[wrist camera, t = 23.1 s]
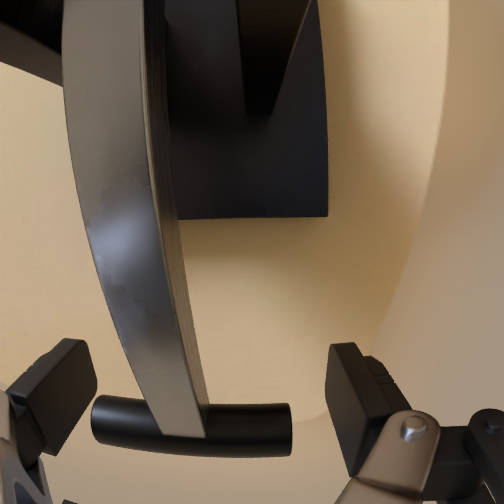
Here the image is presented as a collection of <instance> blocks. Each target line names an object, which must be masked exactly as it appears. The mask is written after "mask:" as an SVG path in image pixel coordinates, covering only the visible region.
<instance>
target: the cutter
mask: <svg viewBox="0 0 504 504" xmlns="http://www.w3.org/2000/svg"><path fill="white" fill-rule="evenodd" d="M62 3H63V0H0V62H3V63H5V64H8V65H10V66H13V67H15V68H18V69H21V70H23V71H26V72H28V73H31V74H33V75H35V76H38V77H40V78H43V79H45V80H47V81H50V82H52V83H55V84H57V85H59V86H62V87H63V77H62V45H61V34H62ZM165 59H166V83H167V102H168V118H169V132H170V144H171V156H172V167H173V177H174V187H175V196H176V205H177V214H178V220H197V219H232V218H290V217H328V135H327V110H326V91H325V76H324V62H323V50H322V39H321V29H320V19H319V11H318V2H317V0H165Z"/></svg>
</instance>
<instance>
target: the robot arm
mask: <svg viewBox="0 0 504 504" xmlns="http://www.w3.org/2000/svg"><path fill="white" fill-rule="evenodd" d="M96 391H97V377H96V374H95V370H94V367H93V363H92V360H91V356H90V352H89V348H88V345H87V343H86V342H85V341H84V340H79V339H70V338H64V339H62V340H61V341H60V342H59V343H58V344H57V345H56V346H55V347H54V348H53V349H52V350H51V351H50V352H48V353H46V354H44V355H42V356H41V357H40V358H38V359H37V360H36V361H35V362H34V363H33V366H32V365H31V366H30V367H29V368H28V369H27V372H24V373H23V374H22V375H21V376H20V377H19V378H18V379H17V380H16V381H15V382H14V383H13V384H12V385H11V386H10V387H9V388H8V389H7V390H6V391H5V392H4V391H1V390H0V504H53V502H52V498H51V495H50V491H49V487H48V483H47V479H46V475H45V471H44V466H43V462H42V460H41V459H40V457H39V456H40V454H41V453H42V452H44V453H47V454H50V455H53V456H57V454H58V453H59V451H60V449H61V448H62V446H63V444H64V443H65V441H66V440H67V438H68V437H69V435H70V433H71V431H72V430H73V429H74V427H75V425H76V424H77V422H78V421H79V419H80V418H81V416H82V414H83V413H84V411H85V410H86V408H87V407H88V405H89V404H90V402H91V401H92V399H93V398H94V396H95V394H96ZM325 398H326V403H327V406H328V409H329V412H330V415H331V419H332V422H333V425H334V428H335V431H336V435H337V438H338V441H339V444H340V447H341V451H342V454H343V457H344V460H345V464H346V467H347V470H348V474H349V477H352V478H351V480H350V481H349V482H348V483H347V485H346V487H345V488H344V490H343V491H342V493H341V494H340V496H339V497H338V499H337V500H336V501H335V503H334V504H422V503H423V501H436V502H437V504H504V412H503V411H501V410H497V409H482V410H480V411H478V412H476V413H475V414H474V415H473V416H472V417H471V419H470V422H469V424H468V426H450V427H442V426H440V425H439V423H438V422H437V420H436V419H435V418H433V417H432V416H431V415H429V414H427V413H424V412H421V411H416V410H413V409H412V408H411V406H410V405H409V403H408V402H407V400H406V399H405V397H404V395H403V394H402V392H401V391H400V389H399V388H398V386H397V385H396V383H394V380H393V379H392V377H391V375H389V372H388V371H387V370H386V368H385V367H384V365H383V364H382V363H381V362H379V361H378V360H377V359H375V358H374V357H371V356H363V355H362V353H361V352H360V350H359V348H358V347H357V345H356V344H355V343H354V342H349V343H336V344H331V345H330V347H329V353H328V363H327V372H326V381H325ZM355 476H356V477H355ZM485 483H486V484H487V486H488V488H489V490H490V492H491V494H492V495H493V497H494V499H495V501H494V500H493V498H492V496H491V494H490V492H489V490H488V488H487V487H486V485H485ZM495 502H496V503H495ZM62 504H77V503H73V502H71V501H68V500H64V501H63V503H62Z"/></svg>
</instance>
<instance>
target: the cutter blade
mask: <svg viewBox="0 0 504 504" xmlns="http://www.w3.org/2000/svg"><path fill="white" fill-rule="evenodd" d="M61 45H62V77H63V93H64V105H65V115H66V124H67V132H68V140H69V147H70V154H71V160H72V166H73V172H74V178H75V183H76V188H77V193H78V198H79V203H80V208H81V212H82V217H83V221H84V225H85V229H86V233H87V237H88V241H89V245H90V249H91V253H92V256H93V260H94V263H95V267H96V270H97V274H98V277H99V280H100V284H101V287H102V290H103V293H104V296H105V299H106V302H107V305H108V308H109V311H110V314H111V317H112V320H113V323H114V325H115V328H116V331H117V334H118V336H119V339H120V342H121V344H122V347H123V349H124V352H125V354H126V357H127V359H128V362H129V364H130V367H131V369H132V371H133V374H134V376H135V378H136V381H137V383H138V385H139V387H140V390H141V392H142V394H143V396H144V398H145V400H143V399H134V398H126V397H118V396H110V395H100V396H99V397H97V398H96V400H95V402H94V404H93V407H92V411H91V428H92V432H93V435H94V437H95V439H96V440H97V441H98V442H99V443H101V444H106V445H111V446H116V447H123V448H128V449H134V450H142V451H148V452H156V453H165V454H174V455H187V456H201V457H226V458H259V457H284V456H290V454H291V451H292V417H291V410H290V406H289V404H288V403H273V404H209V399H208V395H207V390H206V385H205V380H204V375H203V371H202V366H201V360H200V355H199V350H198V345H197V339H196V334H195V328H194V323H193V317H192V311H191V305H190V299H189V293H188V286H187V280H186V273H185V267H184V260H183V252H182V245H181V238H180V230H179V222H178V214H177V205H176V196H175V187H174V177H173V167H172V156H171V144H170V132H169V118H168V102H167V83H166V59H165V0H63V3H62V34H61Z"/></svg>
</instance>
